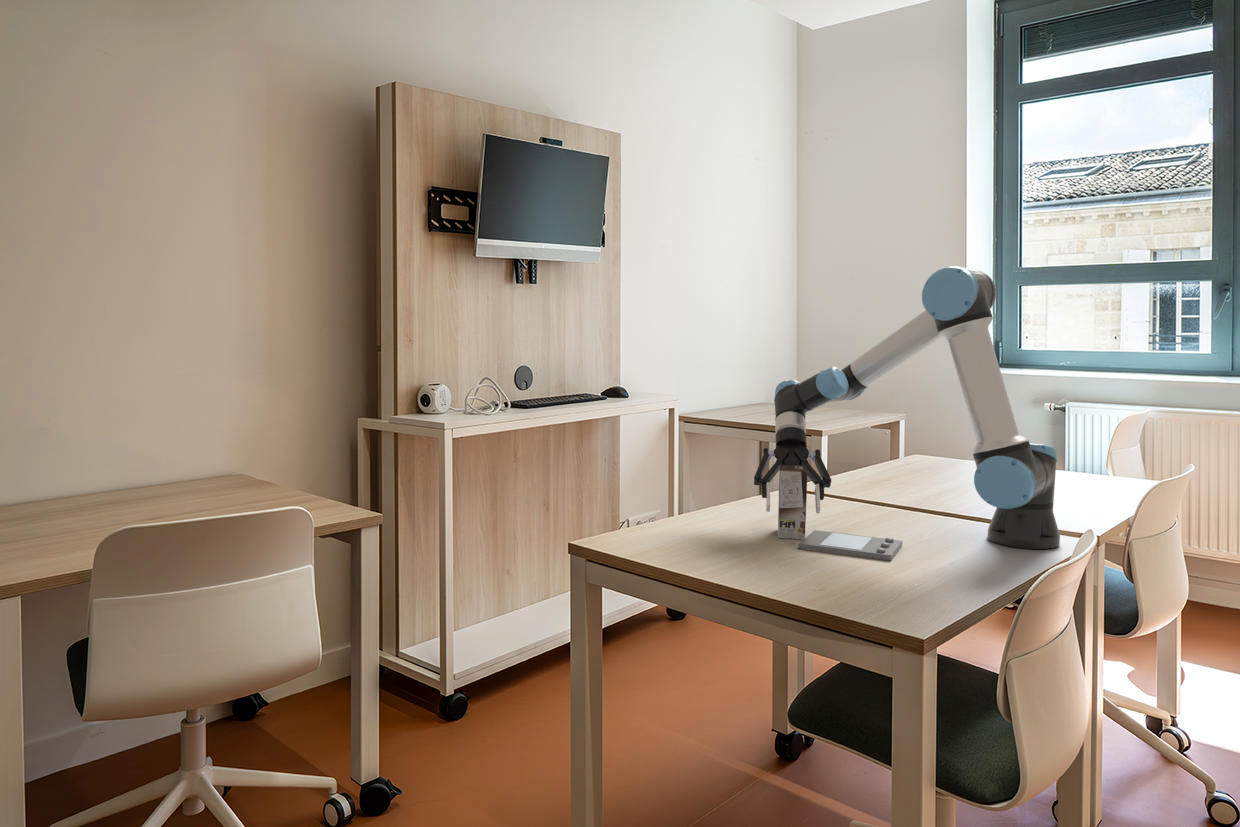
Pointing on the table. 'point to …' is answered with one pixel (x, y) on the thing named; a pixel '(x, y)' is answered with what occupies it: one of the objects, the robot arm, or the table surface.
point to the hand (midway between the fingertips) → (793, 509)
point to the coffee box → (792, 501)
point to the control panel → (851, 544)
